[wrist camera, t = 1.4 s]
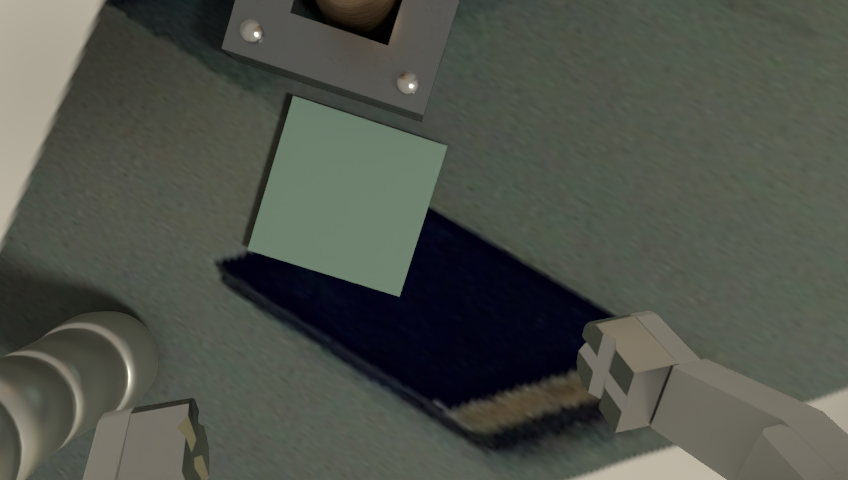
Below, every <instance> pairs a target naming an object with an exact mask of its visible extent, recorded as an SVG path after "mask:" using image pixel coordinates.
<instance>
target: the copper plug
mask: <svg viewBox="0 0 848 480" xmlns="http://www.w3.org/2000/svg"><path fill="white" fill-rule="evenodd" d="M316 2H317V5H318V7H319V9H320V11H321V13H322V16H323V18H324V19H325V21H326V22H327V24H328V25H329V26H331V27H334V28H337V29H340V30H343V31H346V32H349V33H352V34H355V35H358V36H361V37H364V38H367V39H369V38H373V37H375V36H377V35H379V34H381V33H382V32H384V31H385V30H386V29H387V28H388V27H389V26H390V25H391V23H392V22H393V20H394V18H395V16H396V14H397V11H398V7H399V0H316Z"/></svg>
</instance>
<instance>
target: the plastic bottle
mask: <svg viewBox="0 0 848 480" xmlns="http://www.w3.org/2000/svg"><path fill="white" fill-rule="evenodd" d="M158 368H159V354H158V348H157V345H156V342H155V339H154V338H153V336H152V334H151V333H150V331H149V330H148V329H147V328H146V327H145V326H144V324H142V323H141V322H140V321H138V320H137V319H136V318H134V317H132V316H130V315H127V314H125V313H121V312H117V311H100V312H90V313H83V314H81V315H78V316H75V317H72V318H71V319H69V320H67V321H66V322H64V323H62V324H61V325H59V326H57V327H56V328H54V329H52V330H51V331H50V332H48V333H47V334H46V335H45V336H43V337H42V338H40V339H39V340H37V341H35V342H33V343H31V344H29V345H27V346H25V347H23V348H21V349H19V350H18V351H16V352H14V353H11V354H7V355H5V356H2V357H0V480H26V479H27V478H28V477H29V476H30V475H31V474H32V473H33V472H34V471H35V469H36V468H38V467H39V466H40V465H41V464H42V463H44V462H45V461H46V460H47V459H48V458H50V457H51V456H52V455H53V454H54V453H55V452H57V451H58V450H59V449H60V448H62V447H63V446H64V445H65V444H66V443H68V442H69V441H71V440H73V439H74V438H76V437H78V436H79V435H81V434H83V433H85V432H86V431H88V430H90V429H92V428H93V427H96V426H97V425H98V422H99V420H100V419H101V417H102V416H103V414H104V413H108V412H114V411H120V410H126V409H132V408H133V407H135V406H136V405H137V404H138V403H139V402H140V400H141V399H142V398H143V396H144V395H145V394H146V392H147V391H148V390H149V388H150V387H151V386H152V384H153V382H154V380H155V378H156V375H157V371H158Z"/></svg>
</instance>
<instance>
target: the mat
mask: <svg viewBox="0 0 848 480" xmlns="http://www.w3.org/2000/svg"><path fill="white" fill-rule="evenodd" d="M446 149H447V146H446V145H443V144H440V143H437V142H434V141H431V140H428V139H424V138H421V137H418V136H415V135H412V134H409V133H406V132H403V131H400V130H397V129H394V128H391V127H388V126H385V125H382V124H379V123H375V122H372V121H369V120H366V119H363V118H360V117H357V116H354V115H351V114H348V113H345V112H342V111H339V110H336V109H333V108H330V107H327V106H323V105H320V104H317V103H314V102H311V101H308V100H305V99H302V98H299V97H296V96H293V98H292V101H291V105H290V108H289V112H288V115H287V118H286V122H285V125H284V128H283V132H282V135H281V139H280V142H279V145H278V149H277V152H276V155H275V159H274V162H273V165H272V169H271V172H270V176H269V179H268V182H267V186H266V189H265V192H264V196H263V199H262V203H261V206H260V209H259V213H258V216H257V219H256V223H255V226H254V229H253V233H252V236H251V240H250V243H249V246H248V250H249V251H253V252H256V253H259V254H262V255H266V256H269V257H272V258H275V259H279V260H282V261H285V262H288V263H292V264H295V265H298V266H301V267H305V268H308V269H311V270H314V271H318V272H321V273H324V274H327V275H331V276H334V277H337V278H340V279H344V280H347V281H350V282H353V283H357V284H360V285H363V286H366V287H370V288H373V289H376V290H379V291H383V292H386V293H389V294H392V295H396V296H399V297H400V294H401V291H402V287H403V284H404V281H405V278H406V275H407V272H408V269H409V265H410V262H411V259H412V256H413V253H414V250H415V247H416V244H417V240H418V237H419V234H420V231H421V228H422V225H423V222H424V218H425V215H426V212H427V209H428V206H429V203H430V200H431V196H432V193H433V190H434V187H435V184H436V181H437V178H438V174H439V171H440V168H441V165H442V162H443V159H444V156H445V153H446Z"/></svg>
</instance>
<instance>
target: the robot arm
mask: <svg viewBox="0 0 848 480" xmlns="http://www.w3.org/2000/svg"><path fill="white" fill-rule="evenodd" d="M582 336H583V338H584V339H585V340H586V343H585V344H584V346H583V347H582V348H581V349H580V350H579V352H578V358H577V367H578V374H579V376H580V379H581V381H582V383H583V385H584V386H585V388H586V390H587V391H588V392H589V393H591V394H592V395H594V396H596V397H598V398H599V399H600V402H599V409H600V411H601V412H602V414H603V415H604V417H605V418H606V420H607V421H608V422H609V424H610V425H611V427H612V428H613V430H614V431H615V433H616V432H621V431H626V430H630V429H635V428H640V427H645V426H649V425H651V428H652V429H654V430H655V431H657V432H658V433H660V434H661V435H663V436H664V437H666V438H667V439H668V440H670V441H671V442H673V443H674V444H676V445H677V446H679V447H680V448H682V449H683V450H685V451H686V452H688V453H689V454H691V455H692V456H694V457H695V458H696V459H698V460H699V461H701V462H702V463H704V464H705V465H706V466H708V467H709V468H711V469H712V470H714V471H715V472H717V473H718V474H720V475H721V476H723V477H724V478H725V479H727V480H848V434H847V433H845V432H844V431H843V430H842V429H841V428H840V427H839V426H838V425H837V424H836V423H835V422H833V420H831V419H830V418H829V417H828V416H827V415H826V414H825V413H824V412H823V411H820V410H818V409H816V408H813V407H812V406H809V405H807V404H805V403H803V402H801V401H798V400H796V399H794V398H792V397H790V396H787V395H785V394H783V393H781V392H778V391H776V390H774V389H772V388H770V387H767V386H765V385H763V384H761V383H759V382H756V381H754V380H752V379H750V378H748V377H745V376H743V375H741V374H739V373H736V372H734V371H732V370H730V369H728V368H725V367H723V366H721V365H719V364H717V363H714V362H712V361H710V360H708V359H703V360H700V359H699V358H698V357H697V356H696V355H695V354H694V353H693V352H692V351H691V350H690V349H689V348H688V346H687V345H686V344H685V343H684V342H683V341H682V340H681V339H680V338H679V337H678V336H677V335H676V334H675V333H674V332H673V331H672V330H671V329H670V328H669V327H668V325H667V324H666V323H665V322H664V321H663V320H662V319H661V318H660V317H659V316H658V315H657V314H656V313H654V312H652V311H650V310H649V311H643V312H638V313H633V314H629V315H623V316H618V317H613V318H608V319H603V320H598V321H593V322H588V324H587V325H586V326H585V327H584V331H583V335H582ZM198 413H199V410H198V407H197V405H196V402H195V399H193V398H189V399H183V400H177V401H171V402H165V403H159V404H153V405H147V406H141V407H135V408H132V409H126V410H120V411H114V412H108V413H104V414H103V416H102V417H101V419H100V420H99V422H98V425H97V429H96V433H95V437H94V440H93V444H92V448H91V451H90V455H89V459H88V462H87V466H86V470H85V473H84V477H83V480H206V479H207V478H208V477H209V446H208V441H207V436H206V432H205V429H204V426H202V425H200V424H199V423H198Z"/></svg>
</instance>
